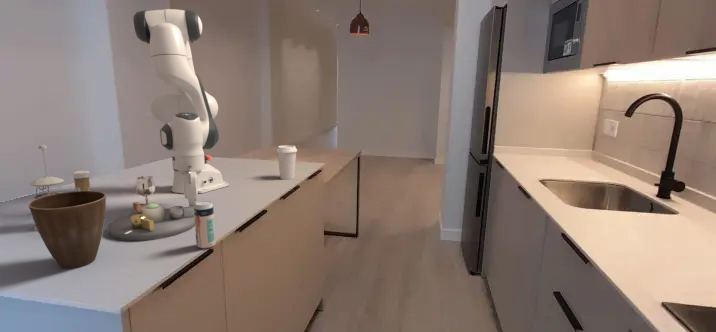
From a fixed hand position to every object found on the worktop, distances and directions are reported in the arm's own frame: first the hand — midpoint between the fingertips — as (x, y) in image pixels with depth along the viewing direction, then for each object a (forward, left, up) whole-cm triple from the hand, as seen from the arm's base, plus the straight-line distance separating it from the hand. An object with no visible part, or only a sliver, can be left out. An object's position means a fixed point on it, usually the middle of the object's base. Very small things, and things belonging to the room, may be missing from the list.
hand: (193, 204), depth 135 cm
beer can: (+11, +27, -4) cm, 30 cm away
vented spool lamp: (+33, -23, -4) cm, 41 cm away
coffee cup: (-57, -20, -4) cm, 61 cm away
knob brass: (+19, +7, -1) cm, 20 cm away
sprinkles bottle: (+21, -33, -4) cm, 39 cm away
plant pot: (+37, +13, -4) cm, 40 cm away
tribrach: (+13, +1, -4) cm, 14 cm away
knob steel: (+6, +5, -1) cm, 8 cm away
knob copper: (+13, -8, -1) cm, 15 cm away
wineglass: (+8, -15, -4) cm, 18 cm away
